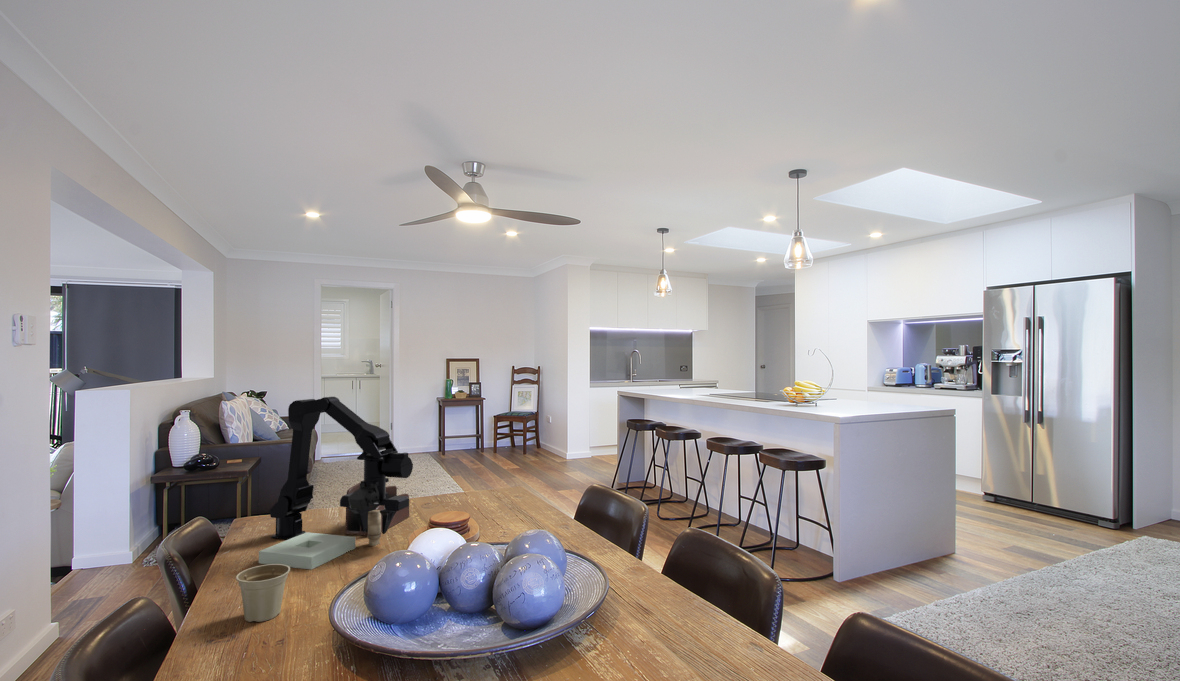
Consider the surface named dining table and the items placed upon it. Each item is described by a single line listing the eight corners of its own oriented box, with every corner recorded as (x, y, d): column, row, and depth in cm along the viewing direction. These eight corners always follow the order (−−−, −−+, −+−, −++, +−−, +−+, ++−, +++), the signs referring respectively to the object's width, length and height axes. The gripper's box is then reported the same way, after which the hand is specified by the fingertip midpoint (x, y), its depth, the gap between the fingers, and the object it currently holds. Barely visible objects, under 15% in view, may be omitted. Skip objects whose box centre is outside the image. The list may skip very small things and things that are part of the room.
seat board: (258, 563, 141) (258, 551, 141) (306, 543, 157) (306, 532, 157) (311, 569, 137) (311, 557, 137) (355, 548, 152) (355, 537, 153)
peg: (364, 545, 154) (365, 513, 155) (372, 541, 158) (373, 509, 158) (375, 547, 153) (375, 513, 154) (383, 543, 157) (383, 510, 157)
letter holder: (344, 534, 165) (345, 486, 165) (382, 516, 184) (382, 472, 185) (375, 536, 163) (375, 487, 163) (410, 517, 182) (410, 474, 183)
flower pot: (300, 609, 115) (301, 566, 116) (260, 630, 107) (260, 584, 107) (265, 602, 118) (266, 561, 119) (223, 622, 110) (224, 578, 110)
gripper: (325, 480, 151) (325, 538, 150) (386, 484, 146) (385, 545, 145) (353, 472, 162) (353, 526, 161) (410, 475, 157) (410, 532, 156)
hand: (374, 532), depth 156 cm, fingers open, 6 cm apart
